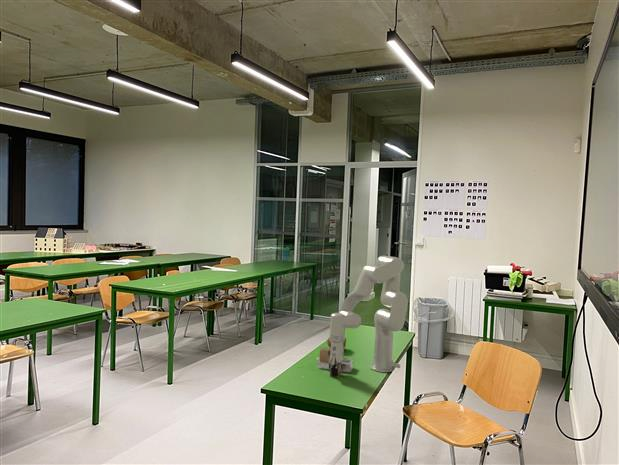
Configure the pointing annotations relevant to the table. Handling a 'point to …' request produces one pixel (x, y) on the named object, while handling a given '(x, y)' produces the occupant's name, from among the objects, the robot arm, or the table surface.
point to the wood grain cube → (337, 367)
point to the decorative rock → (330, 343)
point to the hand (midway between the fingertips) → (335, 373)
